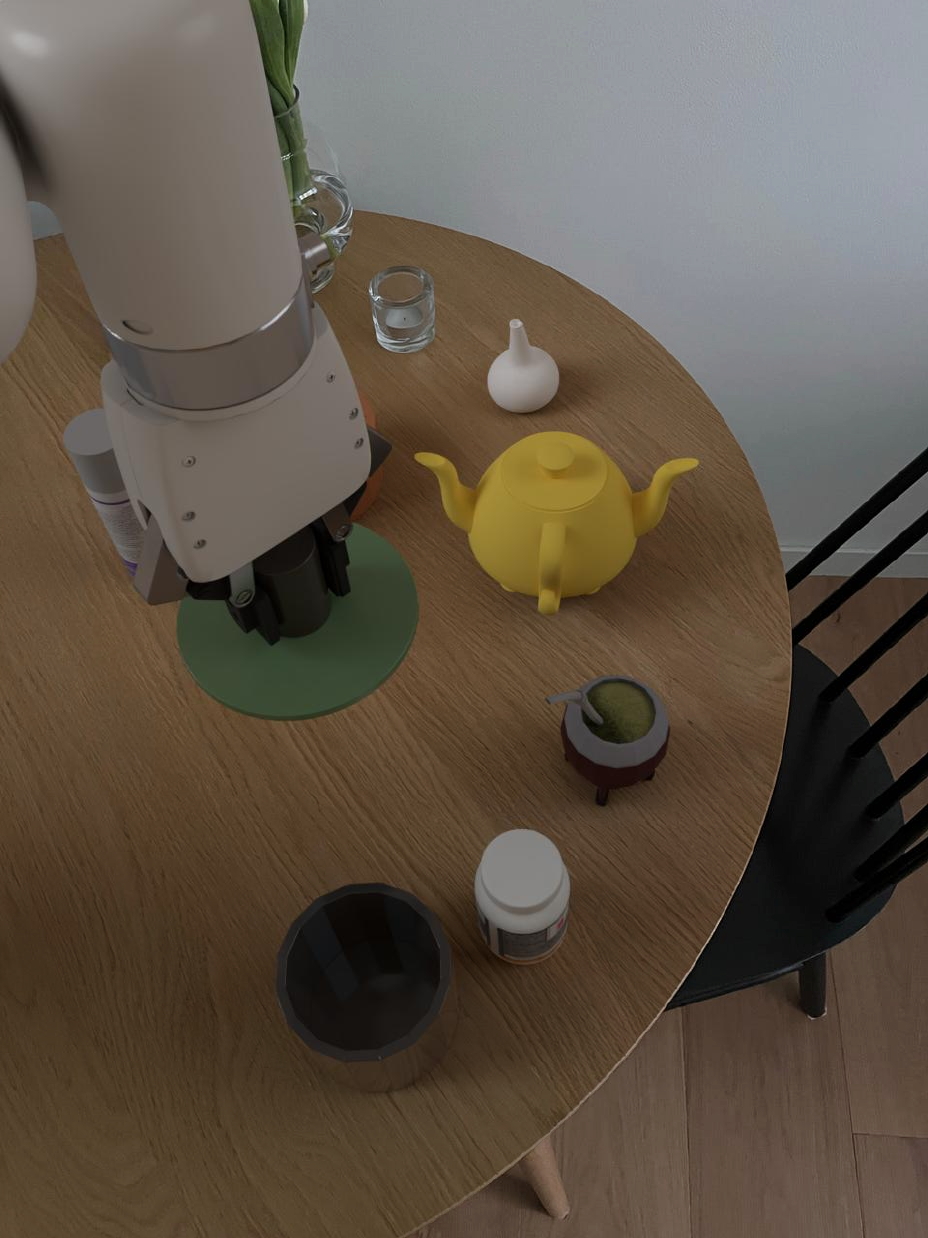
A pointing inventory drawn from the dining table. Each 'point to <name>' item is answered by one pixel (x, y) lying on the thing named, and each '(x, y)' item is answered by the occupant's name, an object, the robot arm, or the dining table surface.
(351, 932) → the cup
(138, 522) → the container
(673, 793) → the dining table surface
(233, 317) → the robot arm
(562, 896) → the pill bottle
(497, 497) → the teapot
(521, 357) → the garlic bulb
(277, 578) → the lid
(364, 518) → the dining table surface
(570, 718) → the mate gourd
